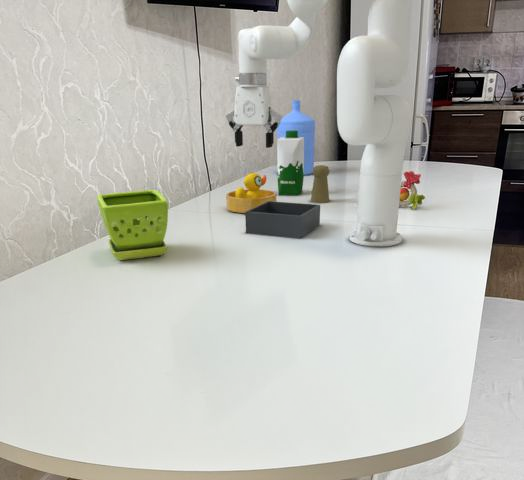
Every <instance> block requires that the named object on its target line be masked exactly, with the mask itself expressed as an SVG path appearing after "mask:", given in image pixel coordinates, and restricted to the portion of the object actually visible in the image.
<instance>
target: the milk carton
mask: <svg viewBox="0 0 524 480" xmlns="http://www.w3.org/2000/svg"><path fill="white" fill-rule="evenodd" d="M276 143H277V144H276V145H277V147H276V151H277V153H276V154H277V155H276V157H277V159H276V163H277V164H276V172H277V175H276V176H277V178H276V179H277V190H278V192H277V193H278V196H299V195H301V194H302V192H303V188H304V176H305V175H304V137H298V131H286V137H282V138H277V142H276Z"/></svg>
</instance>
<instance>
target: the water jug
mask: <svg viewBox="0 0 524 480" xmlns="http://www.w3.org/2000/svg"><path fill="white" fill-rule="evenodd" d="M291 102H292V105H291V109H292V110H291V112H289V113H287V114H286V115H284V116H282V120H281V122H280V124H279V126H278V128H277V129H276V133H277V134H276V135H277V136H276V137H277V139H279V138H282V137H286V131H298V137H304V176H309V175H313V168H314V167H315V164H314V163H315V148H316V147H315V131H316V120H315V119H314V118H313V117H311V116H309V115H307V114H306V113H304V112H301V100H299V99H297V100H291Z"/></svg>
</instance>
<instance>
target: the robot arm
mask: <svg viewBox="0 0 524 480" xmlns="http://www.w3.org/2000/svg"><path fill="white" fill-rule="evenodd" d="M328 1H329V0H286V2H287V4H288V8H289V9H290V11H291V13H292V14H293V15H294V16H295V18H294V19H293V21H292V22H290V24H289V25H288V26H285V25H268V24H267V25H264V24H261V25H257V26H254V27H252V28H251V27H250V28H243V29H241V30H239V32H238V34H237V35H238V36H237V43H238V44H237V45H238V75H236V76H235V78H234V79H235V82H237V83H238V84H239V86H236V89H235V97H234V109H233V110H232V111H230V112H229V113H227V114H226V115H225V118H226V120H227V122H228V125H229V127H230V128H231V129H232V132H233V133H234V143H235V146H236V147H242V146H244V138H243V137H244V135H243V133H244V132H243V131H242V128H244V126H254V127H255V126H256V127H257V126H259V127H261V126H263V127H264V128H265V130H266V133H265V148H266V149H269V148H272V147H273V145H274V140H275V139H274V136H275V135H274V133H275V132H276V131H277V128H278V126H279V124H280V122H281V120H282V117H283V115H282V114H281V113H279V112H277V111H275V110H274V109H273V108H272V107H273V106H272V99H271V98H272V97H271V91H270V86H268V85H267V83H268V81H267V60H290V59H293V58H294V57H296V56H298V55H299V53H300V52H302V51H303V50H304V49H305V47H306V46H307V45H308V44H309V43H310V41H311V40H312V38H313V35H314V33H315V29H316V23H317V17H316V16H317V14H318V13H319V12H320V11H321V10H322V9H323V7H324V6H325V5H326V4H327V3H328ZM412 2H413V1H412V0H372V2H371V4H370V7H369V11H368V15H367V34H366V35H358V36H355V37H353V38H350V40H348V41H347V42H346V43H345V45H344V46H343V48H342V49H341V52H340V54H339V58H338V61H337V66H336V123H337V130H338V133H339V136H340V137H341V139H342V141H344V143H346V144H348V145H350V146H365V148H364V150H363V153H362V156H361V160H360V166H359V167H360V168H359V178H358V179H359V180H358V181H359V182H358V195H357V209H356V210H357V211H356V212H357V213H356V227H355V230H354V231H351V232H350V233H349V235H348V237H349V238H348V239H349V241H351V242H352V243H354V244H357V245H360V246H366V247H391V246H395V245H398V244H401V243H402V242H403V238H404V237H403V235H402V234H401V233H400V232H398V231H397V229H398V220H399V210H400V207H399V201H400V190H401V182H402V179H403V171H404V170H403V169H404V160H405V154H406V148H407V143H408V139H409V136H410V134H411V133H410V132H411V130H412V125H413V112H412V108H411V106H410V104H409V103H408V101H407V100H406V99H404V98H403V97H401V96H398V95H394V94H379V95H378V94H377V95H375V92H376V91H375V89H388V88H394V87H396V86H398V85H400V84H401V83H402V82H403V81H404V80H405V78H406V76H407V73H408V67H409V54H410V36H411V34H410V33H411V11H412ZM273 118H274V122H273V123H272V121H273V120H272V119H273Z"/></svg>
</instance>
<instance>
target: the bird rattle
mask: <svg viewBox="0 0 524 480" xmlns="http://www.w3.org/2000/svg"><path fill="white" fill-rule="evenodd" d="M403 175H404V178H405V180H403V181H401V190H400V201H399V208H400V207H407V206H410V205H411V204H412V205H411V209H412V210H416V208H417V207H418V205H420V206H421V205H423V201H424V200H425V198H426V196H425V195H424V194H418V189H417V186H416V185H419V184H420V183H421V180H420V179H421V176H422V174H420V173H419V174H418V173H417V174H416V173H415V172H414V171H413V170H410V171H404V173H403ZM415 184H416V185H415ZM409 190H410V191H409Z"/></svg>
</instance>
